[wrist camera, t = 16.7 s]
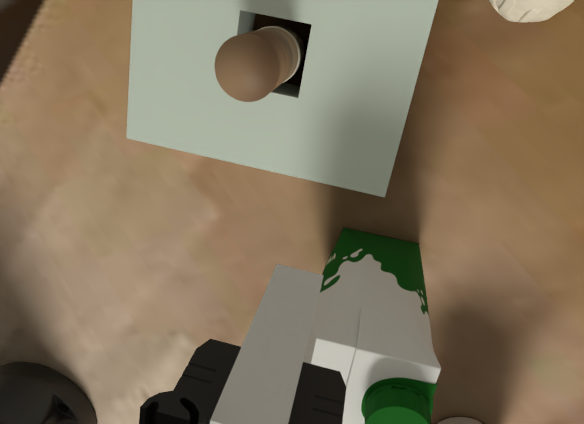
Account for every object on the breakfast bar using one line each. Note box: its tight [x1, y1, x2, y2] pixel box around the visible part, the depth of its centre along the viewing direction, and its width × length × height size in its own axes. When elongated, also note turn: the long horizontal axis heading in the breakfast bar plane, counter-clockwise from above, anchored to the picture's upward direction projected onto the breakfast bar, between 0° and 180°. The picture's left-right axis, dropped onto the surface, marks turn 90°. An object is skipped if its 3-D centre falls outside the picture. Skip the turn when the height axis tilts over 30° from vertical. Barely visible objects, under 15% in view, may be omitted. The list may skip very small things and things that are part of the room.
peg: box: [214, 26, 304, 102], centre depth 37 cm, size 4×4×13 cm
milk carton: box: [303, 228, 441, 424], centre depth 40 cm, size 9×9×20 cm
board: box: [127, 0, 438, 197], centre depth 41 cm, size 22×18×5 cm
